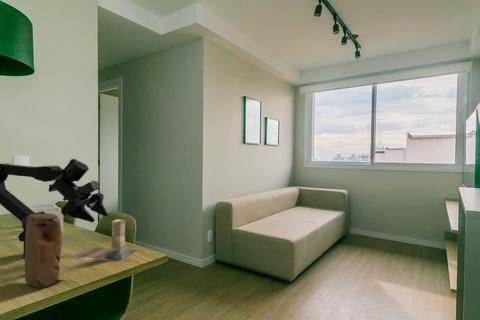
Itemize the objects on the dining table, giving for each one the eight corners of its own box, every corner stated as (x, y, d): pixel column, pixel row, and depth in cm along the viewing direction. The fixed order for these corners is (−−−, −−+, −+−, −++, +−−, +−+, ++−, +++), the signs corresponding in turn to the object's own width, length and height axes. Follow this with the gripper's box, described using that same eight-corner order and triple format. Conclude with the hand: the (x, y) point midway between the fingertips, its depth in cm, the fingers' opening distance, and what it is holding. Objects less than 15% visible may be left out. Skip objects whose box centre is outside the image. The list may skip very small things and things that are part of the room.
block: (22, 280, 82) (23, 214, 82) (51, 272, 88) (52, 210, 88) (33, 292, 75) (34, 220, 75) (64, 283, 81) (65, 215, 81)
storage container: (63, 233, 132) (63, 210, 132) (34, 237, 125) (35, 213, 125) (53, 223, 150) (53, 203, 150) (27, 226, 143) (28, 205, 143)
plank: (67, 262, 97) (67, 257, 97) (89, 250, 109) (89, 246, 109) (121, 265, 95) (121, 261, 95) (137, 253, 107) (137, 249, 107)
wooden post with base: (105, 258, 97) (106, 222, 97) (114, 252, 103) (115, 218, 103) (121, 259, 96) (122, 222, 96) (130, 253, 102) (130, 219, 102)
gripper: (67, 176, 93) (101, 206, 92) (97, 173, 111) (126, 198, 111) (46, 200, 93) (80, 231, 93) (80, 193, 112) (108, 218, 111)
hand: (100, 218), depth 102 cm, fingers open, 9 cm apart
